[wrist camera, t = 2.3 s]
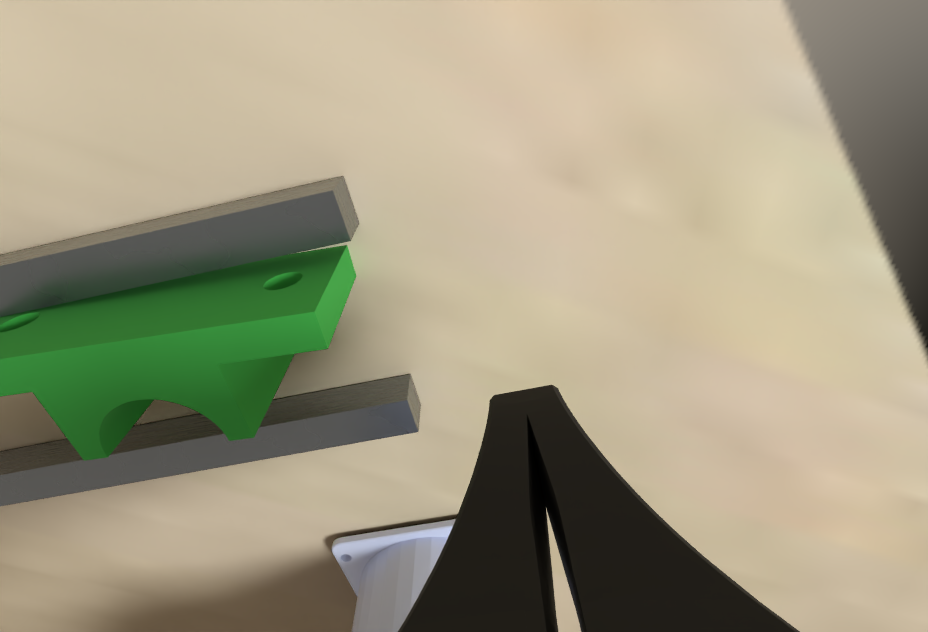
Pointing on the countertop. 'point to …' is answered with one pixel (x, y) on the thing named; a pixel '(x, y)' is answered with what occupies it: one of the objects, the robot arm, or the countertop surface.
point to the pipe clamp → (175, 346)
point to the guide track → (175, 256)
